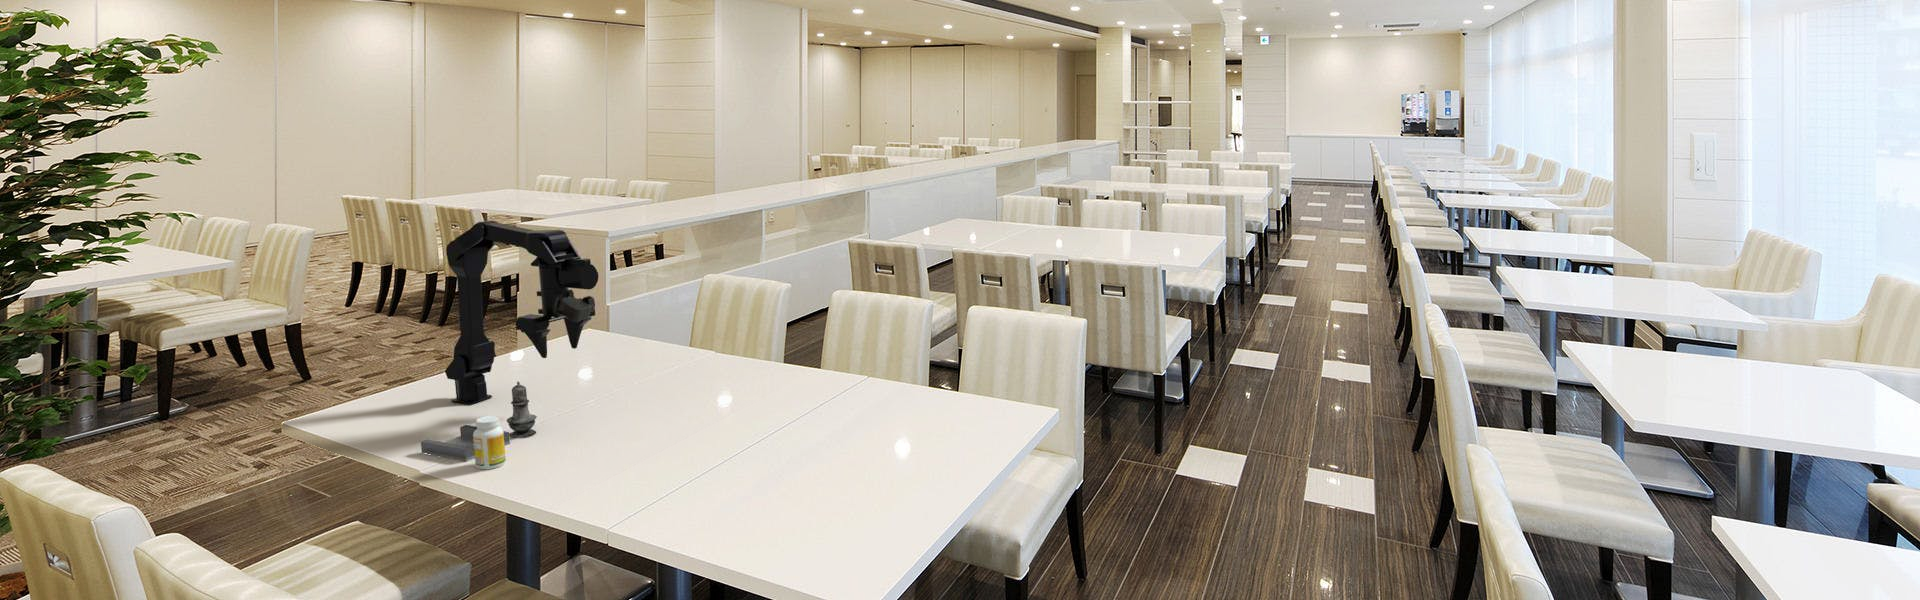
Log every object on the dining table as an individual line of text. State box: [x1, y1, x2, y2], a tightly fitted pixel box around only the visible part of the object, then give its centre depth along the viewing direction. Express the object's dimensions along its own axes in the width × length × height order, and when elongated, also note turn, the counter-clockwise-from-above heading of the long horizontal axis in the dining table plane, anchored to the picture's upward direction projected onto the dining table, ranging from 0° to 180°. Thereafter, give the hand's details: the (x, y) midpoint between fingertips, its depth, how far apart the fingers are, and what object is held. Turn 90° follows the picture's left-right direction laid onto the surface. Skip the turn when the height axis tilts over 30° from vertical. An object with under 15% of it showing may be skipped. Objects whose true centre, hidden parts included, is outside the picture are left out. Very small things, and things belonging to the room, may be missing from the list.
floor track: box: [420, 424, 511, 462], centre depth 189 cm, size 12×11×3 cm
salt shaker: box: [506, 381, 537, 439], centre depth 197 cm, size 6×6×12 cm
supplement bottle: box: [473, 415, 507, 470], centre depth 180 cm, size 5×5×10 cm
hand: (559, 353), depth 209 cm, fingers open, 9 cm apart
